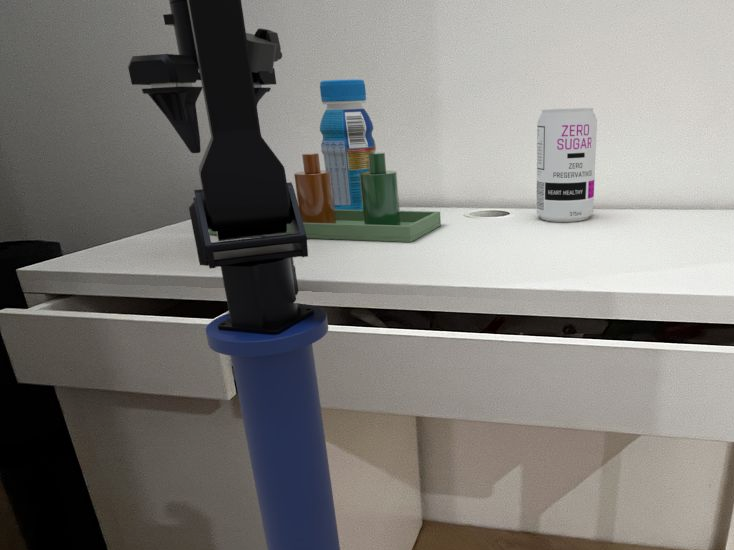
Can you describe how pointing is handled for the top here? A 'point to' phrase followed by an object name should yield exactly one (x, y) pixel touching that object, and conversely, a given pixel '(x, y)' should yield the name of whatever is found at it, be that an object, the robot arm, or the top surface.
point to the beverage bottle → (346, 139)
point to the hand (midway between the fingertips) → (222, 149)
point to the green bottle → (379, 193)
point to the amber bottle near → (315, 192)
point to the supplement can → (566, 164)
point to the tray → (371, 227)
